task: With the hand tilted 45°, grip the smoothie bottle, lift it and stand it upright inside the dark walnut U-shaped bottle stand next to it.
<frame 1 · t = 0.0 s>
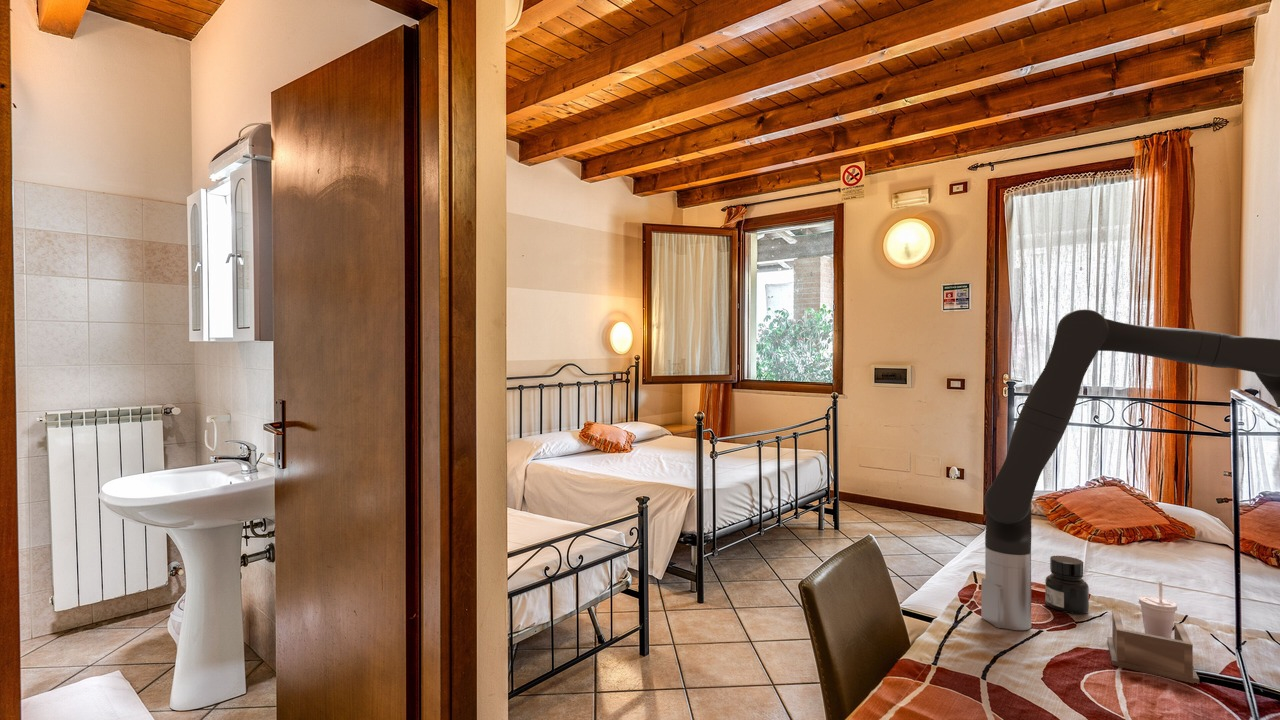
sauce bottle: (1007, 590, 163), on the table
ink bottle: (1066, 608, 150), on the table
bottle stand: (1150, 661, 123), on the table
smoothie: (1157, 647, 130), on the table
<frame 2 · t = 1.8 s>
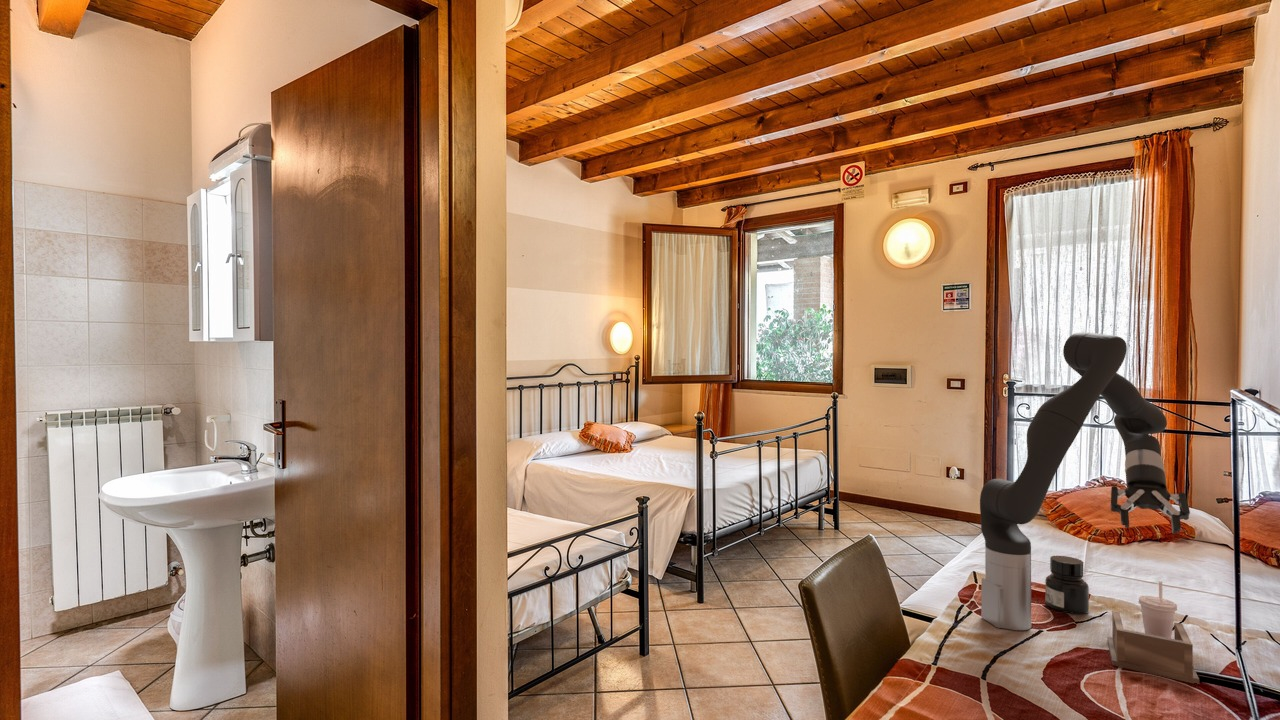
hand: (1150, 529, 139), 23 cm above the table, tool tilted 45°, fingers open, 8 cm apart
nothing on the table moved.
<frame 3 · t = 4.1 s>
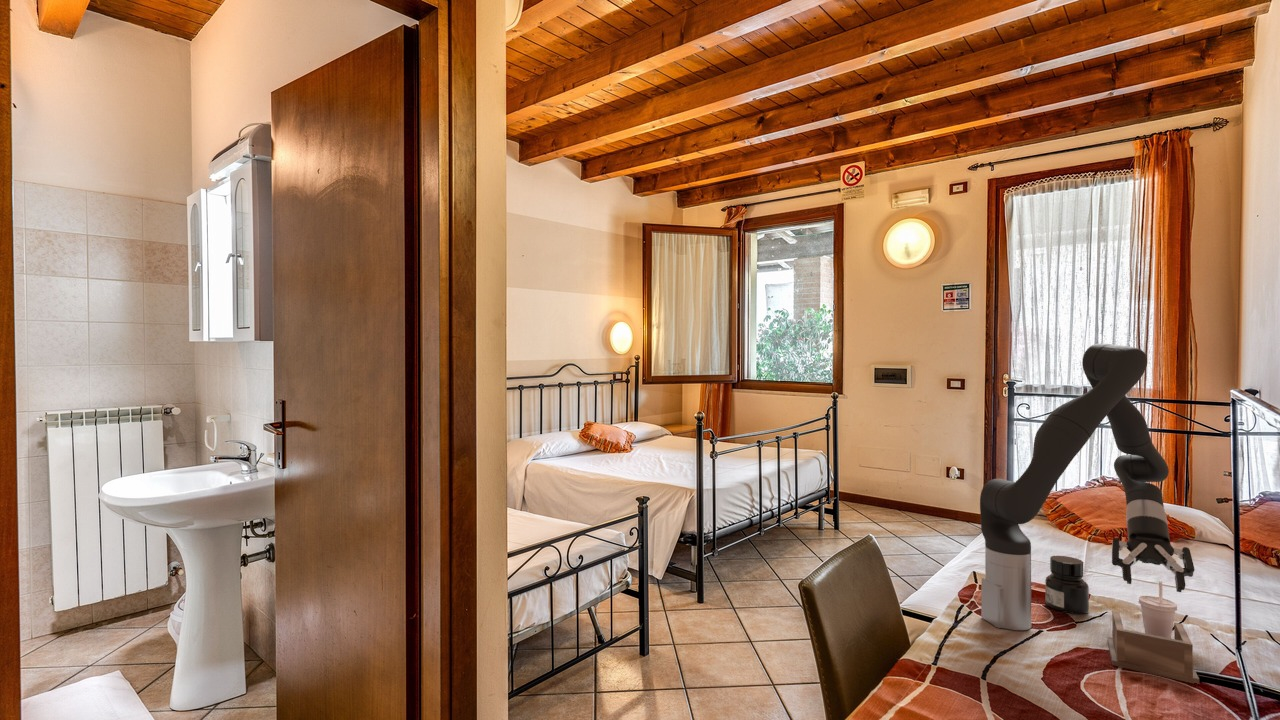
hand: (1154, 586, 134), 11 cm above the table, tool tilted 45°, fingers open, 8 cm apart
nothing on the table moved.
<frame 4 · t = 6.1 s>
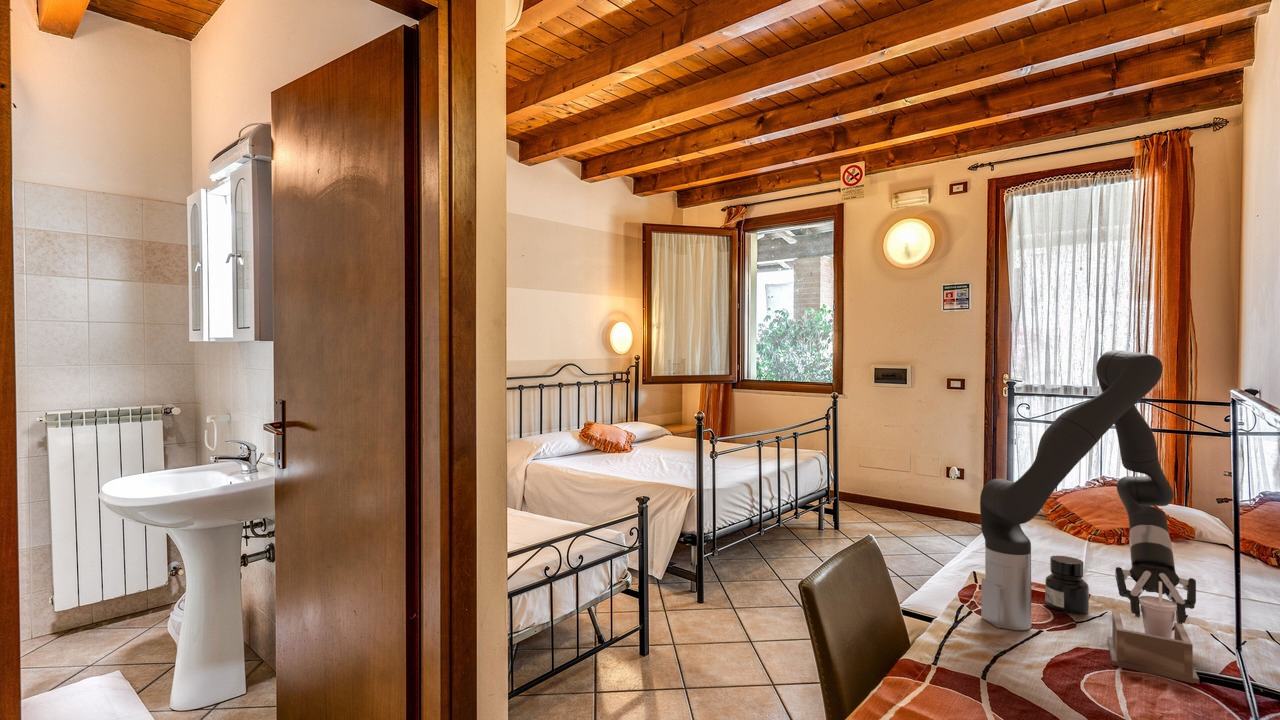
hand: (1158, 619, 128), 6 cm above the table, tool tilted 45°, fingers closed on smoothie, 6 cm apart
smoothie: (1157, 647, 130), on the table, touching gripper
everything else where it was.
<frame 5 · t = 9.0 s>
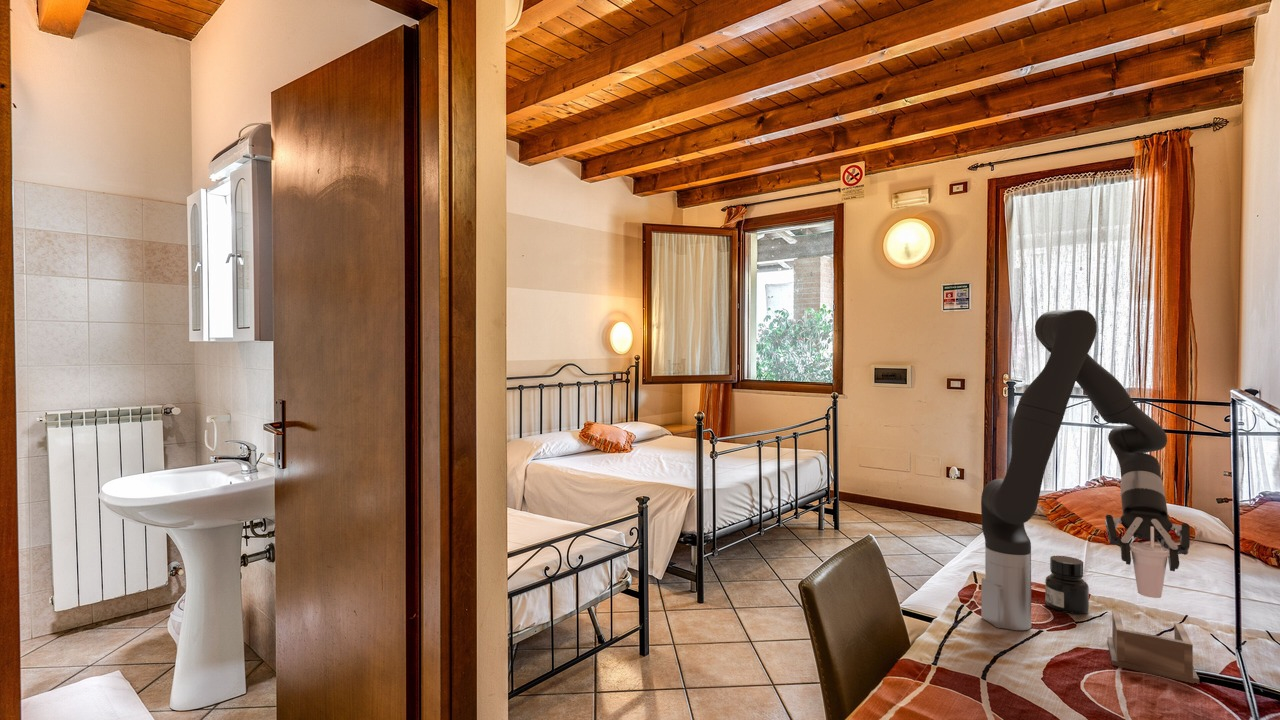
hand: (1150, 565, 122), 20 cm above the table, tool tilted 45°, fingers closed on smoothie, 6 cm apart
smoothie: (1149, 595, 123), point 13 cm above the table, touching gripper
everything else where it was.
when the fingers open (9 cm above the table, at t = 12.0 s): smoothie drops 1 cm, resting on bottle stand.
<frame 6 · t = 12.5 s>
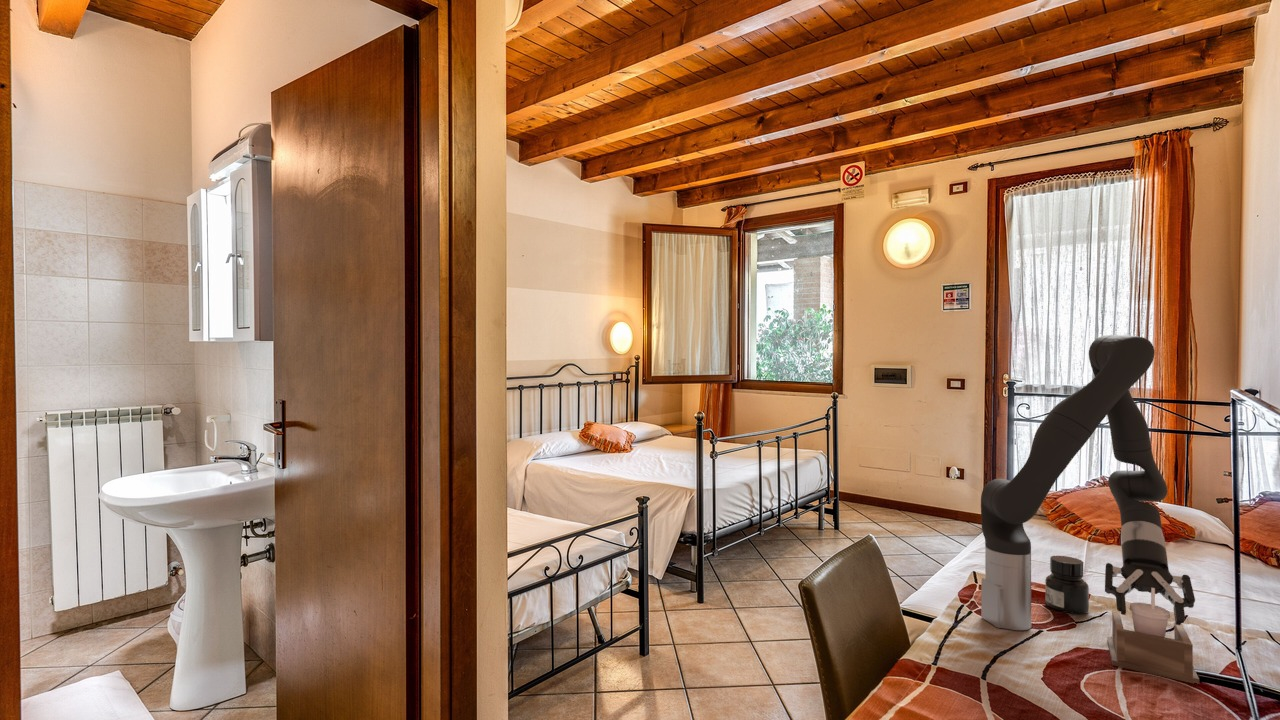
hand: (1150, 618, 122), 9 cm above the table, tool tilted 45°, fingers open, 8 cm apart
smoothie: (1148, 656, 123), point 1 cm above the table, touching bottle stand
everything else where it was.
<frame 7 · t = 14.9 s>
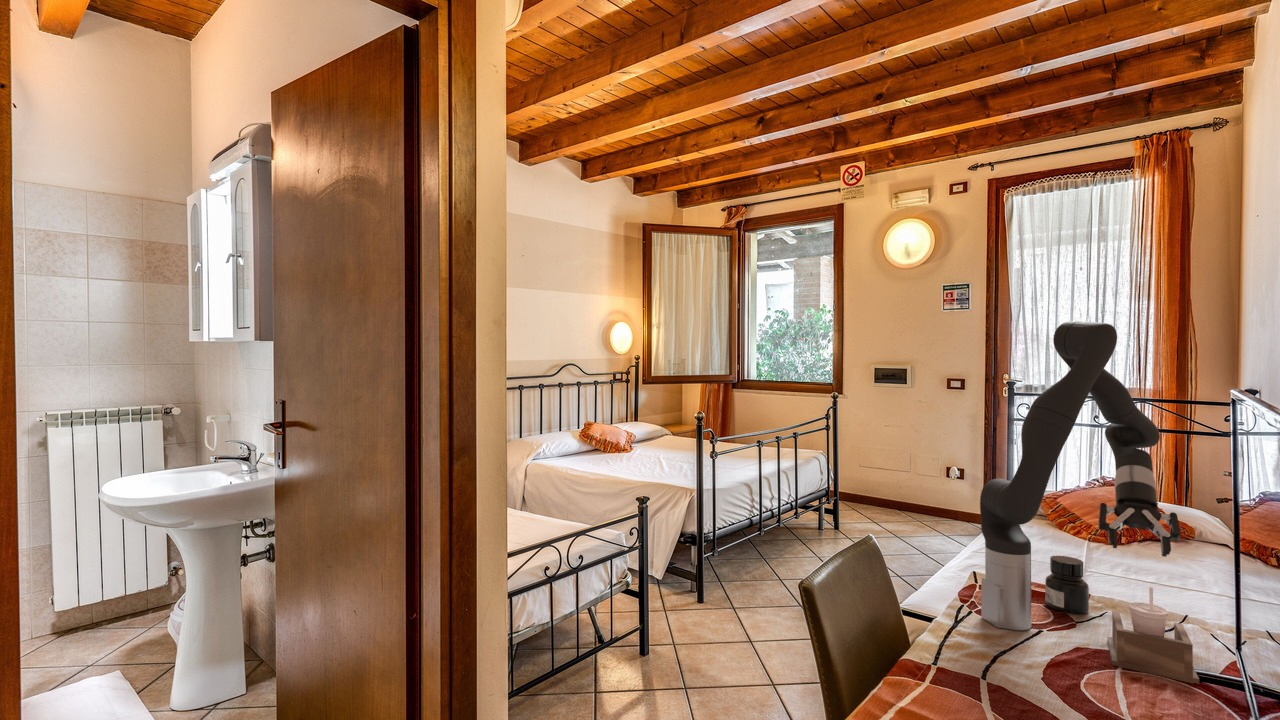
hand: (1139, 550, 133), 19 cm above the table, tool tilted 45°, fingers open, 8 cm apart
nothing on the table moved.
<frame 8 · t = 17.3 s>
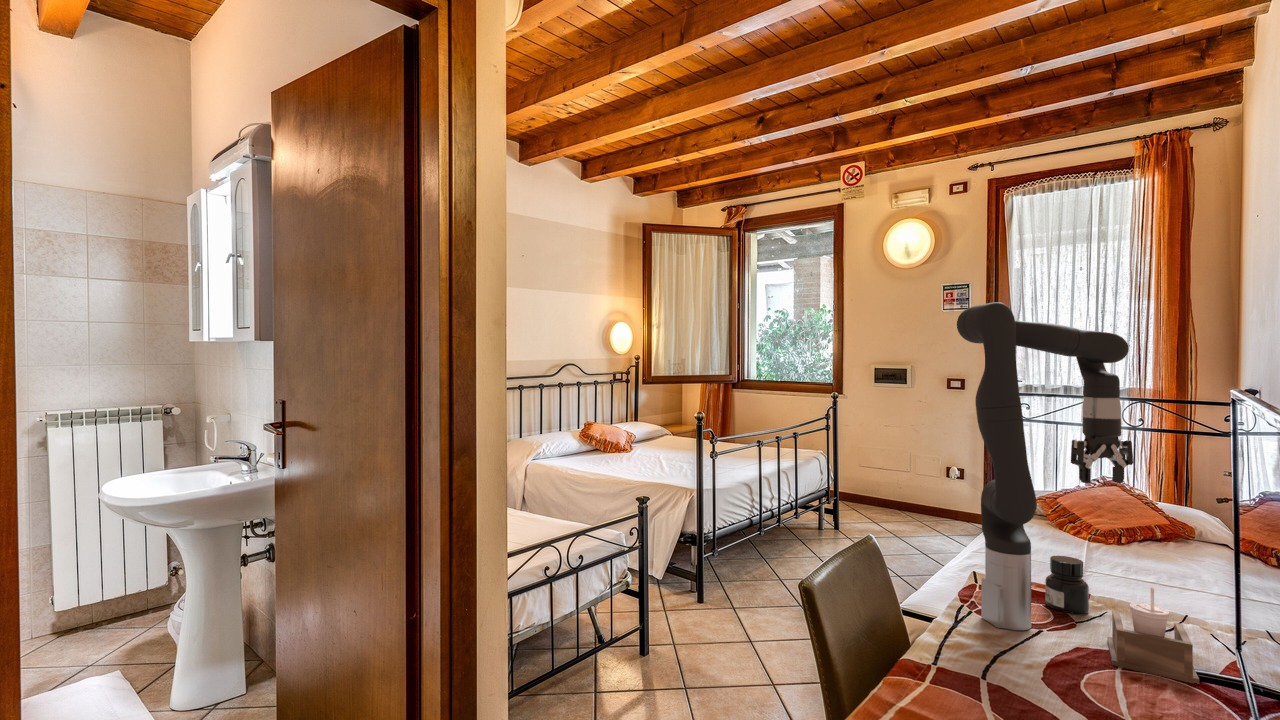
hand: (1101, 482, 146), 32 cm above the table, tool pointing down, fingers open, 8 cm apart
nothing on the table moved.
at the end: smoothie 0.2 cm off-centre on the bottle stand, point 0.8 cm above the bottle stand's base; smoothie tilted 1°; the gripper is holding nothing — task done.
